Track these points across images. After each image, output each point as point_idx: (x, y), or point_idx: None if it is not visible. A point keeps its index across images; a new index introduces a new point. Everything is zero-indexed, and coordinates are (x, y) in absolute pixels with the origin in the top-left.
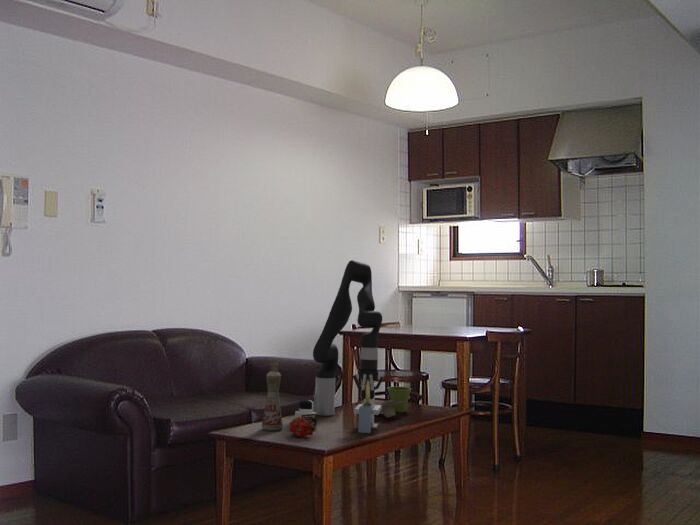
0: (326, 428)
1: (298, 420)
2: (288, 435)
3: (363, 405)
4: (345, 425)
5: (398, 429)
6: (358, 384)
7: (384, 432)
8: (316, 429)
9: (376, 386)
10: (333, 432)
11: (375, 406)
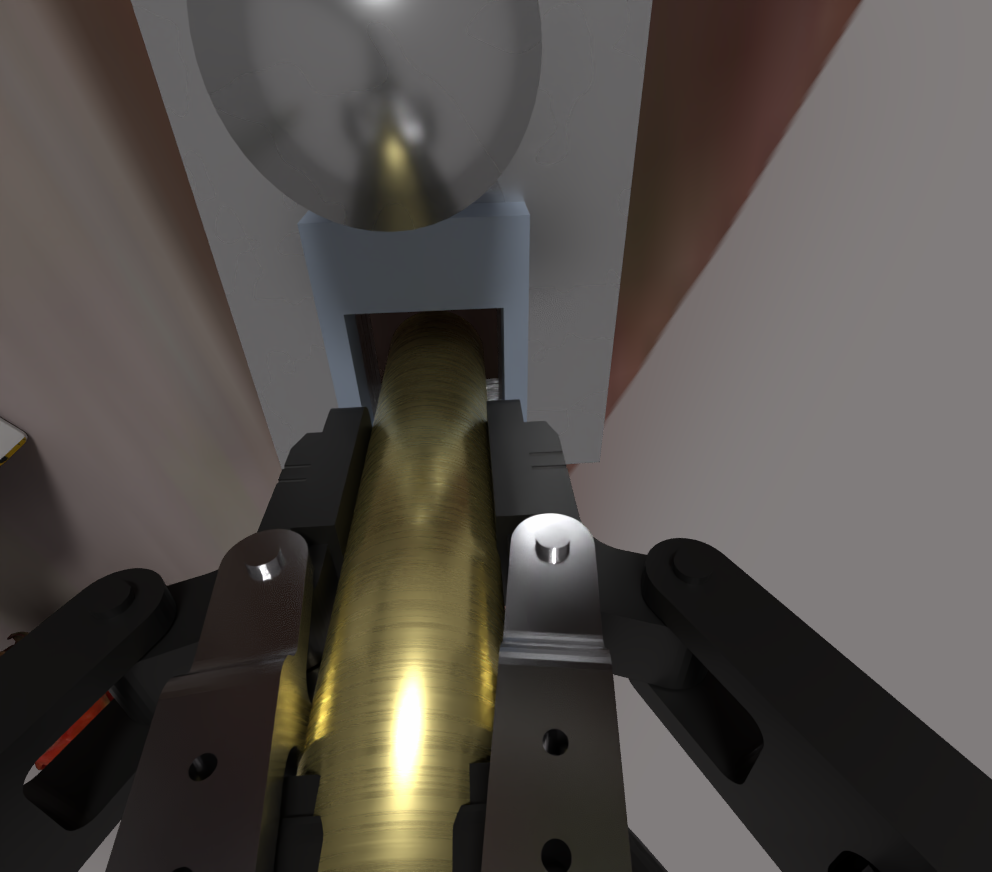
0: (51, 335)
1: (47, 764)
2: (10, 630)
3: (349, 320)
4: (117, 66)
5: (782, 131)
6: (133, 775)
7: (621, 345)
8: (26, 436)
9: (664, 706)
10: (214, 474)
11: (539, 138)
